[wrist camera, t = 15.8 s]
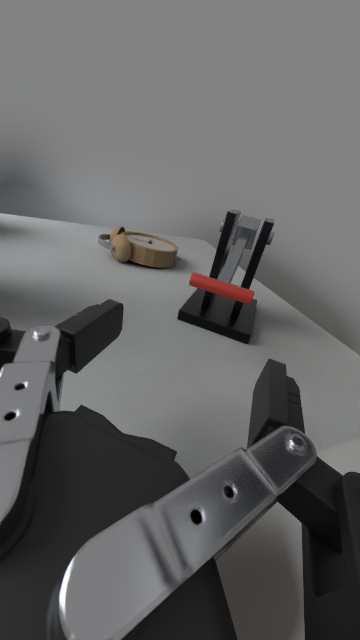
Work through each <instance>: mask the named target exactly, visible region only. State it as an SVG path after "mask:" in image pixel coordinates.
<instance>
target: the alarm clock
mask: <svg viewBox="0 0 360 640" xmlns="http://www.w3.org/2000/svg"><path fill="white" fill-rule="evenodd" d="M106 239H110V243H108V242H105V241H104V240H106ZM98 243H99V244H100V245H101V246H103V247H106V248H108V249H110V250H111V252H112V254H113V256H114V258H115V259H116V260H118V261H120V262H126V261H128V259H129V260H131V261H133V262H136V263H139V264H142V265H146V266H151V267H159V268H165V267H171V266H173V265H174V263H175V260H178V261H180V260H181V259H180V258H178V257H176V254H177V251H178V247H177V246H176V245H175V244H173V243H171V242H169V241H167V240H165V239H162V238H160V237H157V236H153V235H149V234H145V233H140V232H132V231H127V232H125V229H124V227H116V228H114V229H113V230H112V232H111V234H102V235H99V237H98Z"/></svg>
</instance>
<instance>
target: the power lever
mask: <svg viewBox="0 0 360 640" xmlns="http://www.w3.org/2000/svg"><path fill="white" fill-rule="evenodd" d="M260 222H261V220H259V219H255V218H251V217H247V216H242V218H241V219H240V221H239V223H238V225H237V228H236V232H235V236H234V239H233V243H232V244H233V245H234V247H233V249H232V251H231V253H230V255H229V257H228V259H227V261H226V263H225V265H224V267H223V269H222V271H221V273H220V275H219V277H218V279H214V278H211V277H208V276H204V275H201V274H198V273H195V272H193V273H192V275H191V278H190V281H189V285H191V286H194V287H197V288H200V289H203V290H206V291H209V292H212V293H215V294H218V295H221V296H224V297H227V298H230V299H233V300H236V301H239V302H242V303H245V304H249V305H250V303H251V301H252V298H253V295H254V291H252V290H249V289H246V288H243V287H239V286H236V285H233V284H230V283H231V281H232V278H233V276H234V274H235V271H236V269H237V267H238V264H239V262H240V259H241V257H242V255H243V252H244V250H245V248H246V249H251V247H252V244H253V242H254V239H255V236H256V233H257V231H258V228H259V225H260Z"/></svg>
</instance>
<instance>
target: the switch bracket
mask: <svg viewBox="0 0 360 640" xmlns="http://www.w3.org/2000/svg"><path fill="white" fill-rule="evenodd" d="M240 214H241V212H240V211H236V210H232V211H228V212H227V215H226V218H225V220H223V222H222V224H221V228H220V232H222V233H221V237H220V240H219V244H218V247H217V251H216V255H215V258H214V262H213V265H212V269H211V273H210V276H209V277H211V278H214V279H218V277H219V275H220V273H221V271H222V269H223V267H224V265H225V263H226V260H227V256H228V253H229V250H230V247H231V244H232V240H233V237H234V234H235V230H236V227H237V224H238V221H239V217H240ZM273 225H274V220H273V219H268V218H266V219H265V221H264V224H263V226H262V229H261V232H260V235H259V238H258V240H257V243H256V246H255V249H254V252H253V254H252V257H251V260H250V263H249V265H248V268H247V271H246V274H245V276H244V279H243V282H242V285H241V287H243V288H246V289H249V288H250V285H251V282H252V280H253V277H254V274H255V272H256V269H257V267H258V264H259V261H260V259H261V256H262V253H263V251H264V248H265V246H266V244H267V245H270V244H271V241H272V239H273V236H274V233H273V232H271V230H272V227H273ZM256 304H257V300H254V299H252V301H251V303H250V305H249V304H245V303H242V302H239V301H236V300H233V299H230V298H227V297H224V296H221V295H218V294H215V293H212V292H209V291H206V290H203V289H200V288H198V289H197V290H196V291H195V292H194V293H193V295H192V296H191V297H190V298H189V299H188V300H187V302H186V303H185V304H184V305H183V306H182V308H181V309H180V310H179V313H178V318H177V319H179V320H182V321H185V322H188V323H190V324H193V325H196V326H199V327H201V328H204V329H207V330H210V331H212V332H215V333H218V334H221V335H224V336H226V337H229V338H232V339H235V340H237V341H240V342H243V343H246V344H248V342H249V340H250V337H251V334H252V328H253V322H254V316H255V310H256Z"/></svg>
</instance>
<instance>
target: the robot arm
mask: <svg viewBox="0 0 360 640" xmlns="http://www.w3.org/2000/svg"><path fill="white" fill-rule="evenodd" d="M122 321H123V304H122V303H119V302H116V301H113V300H111V299H108V300H107V301H105V302H103V303H102V304H100V305H99V304H97V305H93V306H90V307H87V308H86V309H84V310H82V311H81V312H79V313H77V314H76V315H74V316H72V317H70V318H69V319H67V320H65V321H63V322H62V323H60V324H58V325H57V326H55V327H53V326H48V325H42V326H36V327H33V328H31V329H29V330H27V331H19V330H13V329H11V327H10V323H9V321H8V320H7V319H5V318H0V640H237V636H236V633H235V629H234V625H233V622H232V619H231V615H230V611H229V608H228V604H227V600H226V597H225V593H224V590H223V586H222V583H221V579H220V576H219V572H218V568H217V565H216V560H217V559H218V558H219V557H220V556H221V555H222V554H223V553H224V552H225V551H226V550H227V549H228V548H230V547H231V546H232V545H233V544H234V543H235V542H236V541H237V540H238V539H239V538H240V537H241V536H242V535H243V534H244V533H245V532H246V531H247V530H248V529H249V528H250V527H251V526H252V525H253V524H254V523H255V522H256V521H257V520H258V519H259V518H260V517H262V516H263V515H264V514H265V513H266V512H267V511H268V510H269V509H270V508H271V507H272V506H273V505H274V504H275V503H276V502H277V501H278V502H279V503H280V504H281V505H282V506H283V507H285V508H286V509H287V510H288V511H289V512H290V513H291V514H293V515H294V516H295V517H296V518H297V519H298V520H299V521H300V522H302V550H303V583H304V584H303V586H304V621H305V640H360V473H356V472H348V473H346V474H345V475H344V476H342V475H341V474H340V473H339V472H337V471H336V470H334V469H333V468H332V467H330V466H329V465H328V464H326V463H325V462H324V461H322V460H321V459H320V458H319V457H318V456H317V452H316V449H315V447H314V445H313V443H312V442H311V440H310V439H309V438H308V437H307V436H306V435H305V430H304V422H303V414H302V407H301V399H300V390H299V387H298V385H297V384H296V382H295V380H294V379H293V378H290V377H288V376H287V375H286V365H285V364H283V363H280V362H278V361H275V360H272V359H268V361H267V363H266V365H265V367H264V368H263V370H262V372H261V374H260V376H259V378H258V380H257V382H256V385H255V388H254V392H253V400H252V409H251V418H250V427H249V435H248V444H247V449H246V450H244V449H243V448H239V449H237V450H235V451H234V452H232V453H231V454H229V455H228V456H226V457H224V458H223V459H221V460H220V461H218V462H217V463H215V464H214V465H212V466H210V467H209V468H207V469H206V470H204V471H203V472H201V473H200V474H198V475H196V476H195V477H193V478H192V479H190V478H189V477H188V475H187V474H186V472H185V471H184V470H183V469H182V467H181V466H180V465H179V464H178V463H177V462H176V461H174V459H175V456H176V453H177V451H175V450H173V449H171V448H168V447H166V446H164V445H162V444H160V443H158V442H156V441H154V440H152V439H148V438H143V437H138V436H133V435H128V434H124V433H122V432H121V431H120V430H118V429H117V428H116V427H115V426H114V425H113V424H112V423H111V422H110V421H109V420H107V419H106V418H105V417H104V416H103V415H101V414H99V413H97V412H95V411H93V410H91V409H89V408H87V407H85V406H83V405H81V406H80V407H79V408H78V409H77V410H76V411H75V412H73V411H60V402H61V395H62V388H63V381H64V372H66V371H67V370H70V371H72V372H74V373H76V374H77V373H78V372H79V371H80V370H81V369H82V368H83V367H84V366H86V365H87V364H88V363H89V362H90V361H91V360H92V359H94V358H95V357H96V356H97V355H98V354H99V353H100V352H101V351H103V350H104V349H105V348H106V347H107V346H108V345H109V344H110V343H112V342H113V341H114V340H115V339H116V338H117V337H118V336H119V334H120V332H121V330H122Z"/></svg>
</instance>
